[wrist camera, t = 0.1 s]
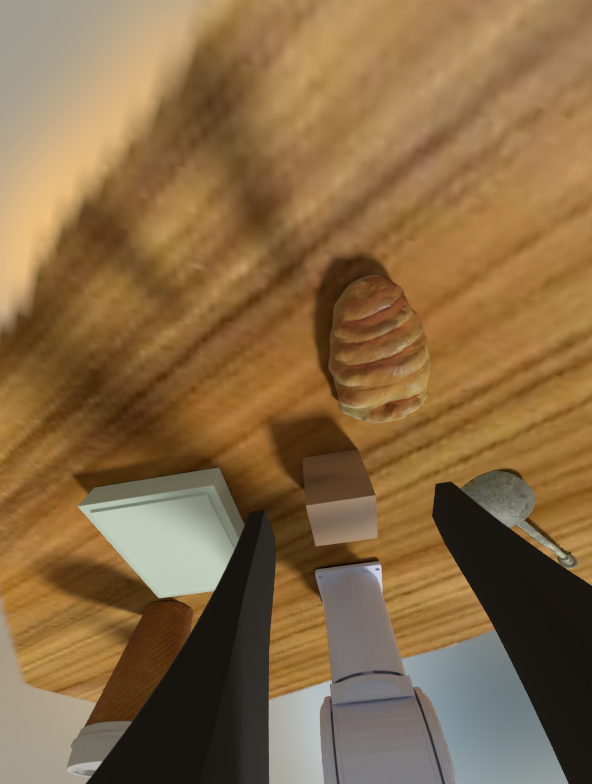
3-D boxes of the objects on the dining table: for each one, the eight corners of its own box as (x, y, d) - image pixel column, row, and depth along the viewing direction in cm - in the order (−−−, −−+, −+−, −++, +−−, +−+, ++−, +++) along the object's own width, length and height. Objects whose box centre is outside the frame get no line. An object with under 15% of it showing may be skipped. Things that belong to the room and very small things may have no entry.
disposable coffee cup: (121, 597, 32) (37, 765, 21) (193, 590, 32) (146, 756, 21) (149, 630, 36) (92, 782, 26) (213, 624, 36) (182, 775, 25)
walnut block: (360, 487, 24) (377, 537, 20) (310, 495, 24) (315, 546, 20) (357, 448, 22) (375, 495, 17) (302, 457, 22) (305, 505, 18)
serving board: (262, 565, 29) (260, 586, 27) (166, 578, 30) (158, 600, 28) (219, 467, 22) (212, 486, 20) (94, 487, 23) (76, 508, 21)
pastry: (306, 294, 16) (312, 302, 13) (410, 258, 15) (446, 256, 12) (339, 411, 20) (350, 440, 17) (422, 386, 19) (451, 412, 16)
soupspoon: (493, 450, 24) (435, 486, 26) (520, 477, 21) (452, 514, 23) (588, 543, 30) (534, 564, 33) (620, 573, 27) (558, 595, 30)
